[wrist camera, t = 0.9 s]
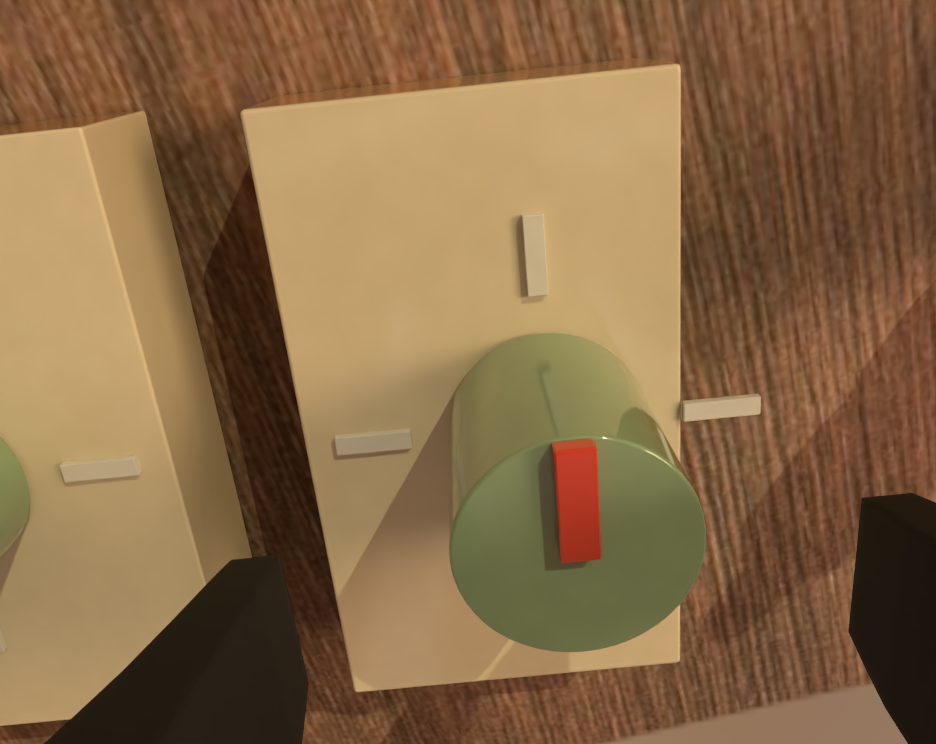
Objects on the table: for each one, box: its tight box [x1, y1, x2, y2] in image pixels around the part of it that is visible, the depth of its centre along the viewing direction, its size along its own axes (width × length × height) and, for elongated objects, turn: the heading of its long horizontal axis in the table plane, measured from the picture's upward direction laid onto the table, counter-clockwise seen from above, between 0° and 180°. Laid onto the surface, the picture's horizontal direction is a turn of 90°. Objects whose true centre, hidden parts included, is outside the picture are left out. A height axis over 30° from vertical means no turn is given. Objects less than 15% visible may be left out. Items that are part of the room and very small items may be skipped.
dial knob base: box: [240, 58, 761, 692], centre depth 16 cm, size 12×8×3 cm
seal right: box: [449, 333, 707, 652], centre depth 13 cm, size 4×4×4 cm
